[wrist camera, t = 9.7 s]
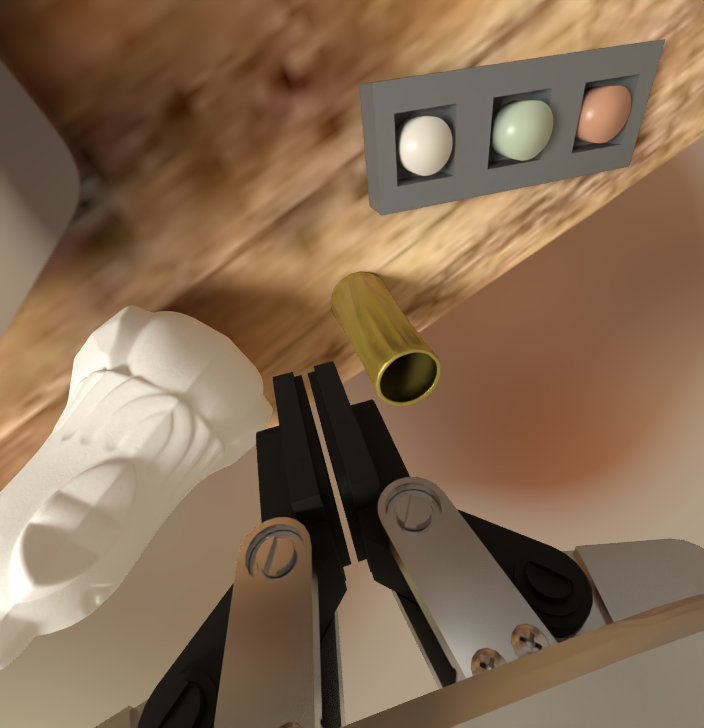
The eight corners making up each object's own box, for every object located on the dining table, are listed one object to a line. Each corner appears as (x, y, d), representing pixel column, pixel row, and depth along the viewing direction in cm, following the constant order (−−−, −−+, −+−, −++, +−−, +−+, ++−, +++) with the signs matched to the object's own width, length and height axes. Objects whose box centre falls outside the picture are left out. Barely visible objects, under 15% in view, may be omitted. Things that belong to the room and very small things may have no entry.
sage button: (491, 104, 30) (510, 104, 28) (536, 96, 31) (558, 96, 29) (486, 160, 33) (503, 164, 31) (528, 152, 33) (548, 156, 31)
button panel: (359, 84, 29) (372, 82, 27) (628, 44, 33) (665, 39, 30) (369, 206, 35) (381, 215, 32) (599, 161, 38) (629, 166, 35)
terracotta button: (570, 90, 32) (594, 89, 30) (612, 83, 33) (637, 82, 31) (561, 143, 34) (582, 146, 32) (599, 136, 35) (622, 139, 33)
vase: (383, 264, 38) (446, 334, 27) (389, 316, 42) (448, 397, 30) (324, 280, 38) (364, 358, 26) (336, 332, 41) (376, 420, 30)
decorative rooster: (196, 249, 27) (-335, 665, 11) (329, 398, 34) (110, 785, 18) (94, 333, 43) (-180, 550, 28) (197, 422, 50) (23, 636, 34)
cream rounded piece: (391, 119, 30) (403, 120, 28) (438, 111, 31) (453, 112, 28) (393, 174, 32) (404, 179, 30) (437, 166, 33) (451, 171, 31)
